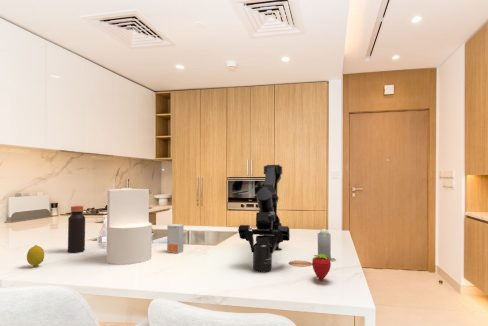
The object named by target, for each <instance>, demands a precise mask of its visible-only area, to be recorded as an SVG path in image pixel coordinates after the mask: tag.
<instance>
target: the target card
mask: <svg viewBox="0 0 488 326" xmlns="http://www.w3.org/2000/svg"><path fill="white" fill-rule="evenodd" d="M315 257H316V256H314V257H313V258H312V260H313V259H314V258H315ZM336 261H337V259H336V258H335V257H334V258H333V257H331V260H330V263H334V262H336ZM288 265H289V266H292V267H298V268H306V267H307V268H308V267H311V266H312V262H310V261H308V260H307V261H306V260H291V261H289V262H288ZM312 267H313V266H312Z"/></svg>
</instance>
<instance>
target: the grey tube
mask: <svg viewBox="0 0 488 326" xmlns="http://www.w3.org/2000/svg"><path fill="white" fill-rule="evenodd" d="M331 237H332V235H331V233H329V231H328V229H326V228H321V229H320V230H319V233H318V232H317V255H319V254H322V255H325V256H329V257H326V258H328V259H329V260H331V258H332V253H331V249H332V247H331V245H332V244H331V243H332V242H331ZM322 251H323V252H322ZM321 252H322V253H321Z"/></svg>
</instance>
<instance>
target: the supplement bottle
mask: <svg viewBox="0 0 488 326" xmlns="http://www.w3.org/2000/svg"><path fill="white" fill-rule="evenodd" d="M255 242H256V243H254V246H253V253H252V270H253V271H254V272H256V273H269V272H271V271H272V269H273V268H272V267H273V254H272V253H271V249H272V246H271V245H270V244H269V236H263V235H256V236H255Z"/></svg>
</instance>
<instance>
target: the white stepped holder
mask: <svg viewBox="0 0 488 326" xmlns="http://www.w3.org/2000/svg"><path fill="white" fill-rule="evenodd" d="M106 195H107V196H106V197H107V205H106V207H107V208H106V210H107V211H106V213H107V215H106V263H108V264H111V265H119V266H120V265H121V266H122V265H126V266H127V265H135V264H136V265H137V264H141V263H145V262H149V260H152V258H151V257H152V256H153V255H152V254H153V253H152V252H153V251H152V245H153V243H152V241H153V240H152V239H153V232H152V231H153V223H152V222H150V219H149V217H150V212H149V211H150V188H121V189H118V188H117V189H115V188H114V189H108V190H107V194H106Z"/></svg>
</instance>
